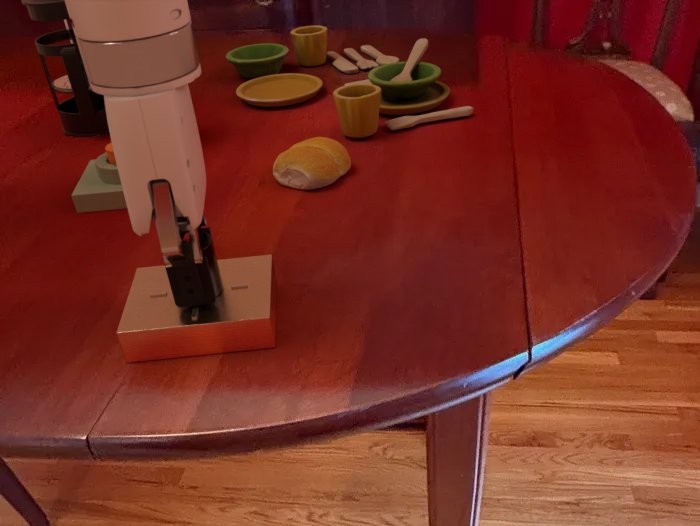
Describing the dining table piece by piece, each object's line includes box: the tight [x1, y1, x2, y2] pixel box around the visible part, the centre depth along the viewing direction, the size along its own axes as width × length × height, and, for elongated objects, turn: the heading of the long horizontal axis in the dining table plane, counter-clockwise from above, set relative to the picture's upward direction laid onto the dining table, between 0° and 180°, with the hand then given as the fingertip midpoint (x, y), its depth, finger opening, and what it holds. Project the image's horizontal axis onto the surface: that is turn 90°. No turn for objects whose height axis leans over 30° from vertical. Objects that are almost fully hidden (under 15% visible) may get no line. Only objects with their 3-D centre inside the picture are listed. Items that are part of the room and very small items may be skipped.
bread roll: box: [272, 136, 352, 191], centre depth 83 cm, size 8×9×4 cm
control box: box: [70, 152, 127, 214], centre depth 83 cm, size 11×10×4 cm
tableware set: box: [225, 24, 474, 139], centre depth 105 cm, size 41×28×6 cm
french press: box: [20, 0, 110, 138], centre depth 95 cm, size 12×9×23 cm
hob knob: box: [180, 231, 223, 296], centre depth 59 cm, size 4×4×5 cm
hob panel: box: [115, 254, 278, 364], centre depth 61 cm, size 12×10×3 cm
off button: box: [104, 141, 117, 165], centre depth 82 cm, size 4×4×2 cm
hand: (197, 285), depth 60 cm, fingers closed on hob knob, 4 cm apart
